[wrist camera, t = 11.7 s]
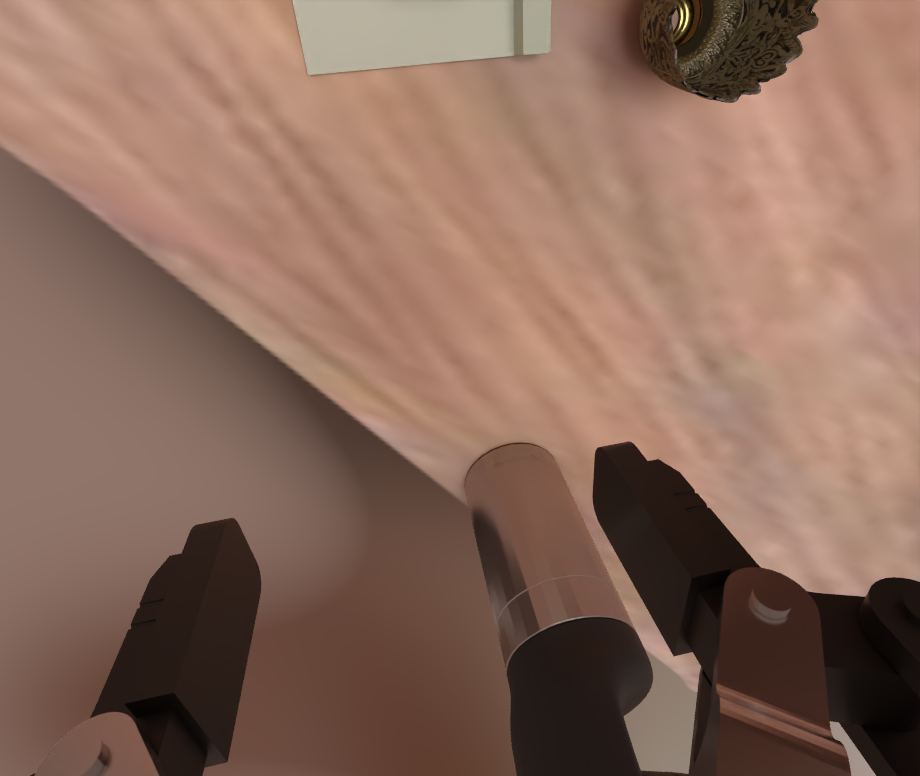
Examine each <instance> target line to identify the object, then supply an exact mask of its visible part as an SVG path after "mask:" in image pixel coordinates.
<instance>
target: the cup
mask: <svg viewBox="0 0 920 776" xmlns="http://www.w3.org/2000/svg"><path fill="white" fill-rule="evenodd" d="M817 1H819V0H644V2H643V5H642V9H641V13H640V20H639V40H640V46H641V50H642V53H643V56H644V58H645V60H646V62H647V64H648V66H649V67H650V69H651V70H652V71H653V72H654V73H655V74H656V75H657V76H658V77H659V78H660V79H662V80H663V81H665V82H667V83H668V84H670V85H672V86H674V87H677V88H679V89H682V90H684V91H687V92H690V93H693V94H696V95H698V96H700V97H703V98H706V99H709V100H717V101H721V102H726V103H733V102H736V101H737V100H738V99H739V97H740V96H741V95H743V94H747V95H752V94H758V93H760V92H761V86H760V84H759V82H768V81H769V80H770V79H773V78H776V77H778V76H781V75H783V74H784V73H785V72H786V71H787V68H786V63H790V62H791V61H793V60H794V59H796V58H797V57H799V56H800V55H801V54H802V51H803V48H802V45H801V42H800V40H799V39H798V38H797V36H798V35H801V33H803V32H805V31H809V30H811V29H814V28H815V27H817V25H818V18H817V16H816V14H815V12H814V13H813V11H812V10H813V8H814V6H815V4H816V3H817ZM676 8H678V11H679V23H678V26H677V28H676V30H675V31H674V32H673V26H672V15H673V14H674V12H675V10H676ZM811 12H812V13H813V14H812V13H811Z"/></svg>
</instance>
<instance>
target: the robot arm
mask: <svg viewBox="0 0 920 776" xmlns="http://www.w3.org/2000/svg"><path fill="white" fill-rule="evenodd" d="M465 492H466V497H467V501H468V506H469V510H470V514H471V519H472V524H473V529H474V533H475V537H476V542H477V546H478V550H479V555H480V559H481V563H482V568H483V572H484V577H485V581H486V585H487V590H488V594H489V598H490V603H491V607H492V611H493V616H494V620H495V625H496V629H497V633H498V637H499V642H500V646H501V650H502V655H503V659H504V663H505V668H506V672H507V677H508V682H509V687H510V693H511V717H510V723H511V742H512V750H513V756H514V761H515V767H516V773H517V776H851V770H850V764H849V759H848V755H847V752H846V749H845V747H844V745H843V744H842V743H841V742H840V741H838V740H835V739H834V738H833V736H832V733H831V729H830V721H833V722H839V723H840V724H841V726H842V727H843V729H844V730H845V732H846V733H847V734H848V736H849V737H850V739H851V740H852V742H853V743H854V744H855V746H856V747H857V749H858V750H859V751H860V753H861V754H862V756H863V757H864V759H865V760H866V762H867V763H868V764H869V766H870V767H871V769H872V770H873V771H874V773H875V774H876V776H920V582H918V581H914V580H911V579H905V578H895V577H893V578H885V579H881V580H879V581H877V582H875V583H874V584H873V585H872V586H871V588H870V590H869V592H868V594H867V595H866V597H860V596H847V595H835V594H822V593H814V592H808V591H806V590H805V589H804V588H802V587H801V586H800V585H799V584H798V583H796V582H795V581H794V580H792V579H790V578H789V577H787V576H785V575H783V574H781V573H778V572H776V571H773V570H769V569H765V568H761V567H760V566H759V565H758V564H757V563H756V562H755V561H754V560H753V558H752V557H751V556H750V555H749V554H748V553H747V551H746V550H745V549H744V548H743V547H742V545H741V544H740V543H739V542H738V541H737V540H736V538H735V537H734V536H733V535H732V534H731V532H730V531H729V530H728V529H727V528H726V527H725V525H724V524H723V523H722V522H721V521H720V519H719V518H718V517H717V516H716V515H715V514H714V512H713V511H712V510H711V509H710V508H707V505H706V503H705V502H704V501H703V499H702V498H701V497H700V496H699V495H698V494H697V493H695V492H694V489H693V488H692V486H691V485H690V484H689V483H688V482H687V481H686V479H685V478H684V477H683V476H682V475H681V473H680V472H678V471H677V470H675V469H673V468H672V467H670V466H668V465H667V464H665V463H664V462H662V461H660V460H659V459H657V460H652V461H647V460H646V458H645V457H644V456H643V455H642V453H641V452H640V451H639V450H638V448H637V447H636V446H635V445H634V444H633V443H632V442H624V443H619V444H614V445H609V446H603V447H599V448H597V449H596V452H595V463H594V481H593V505H594V510H595V513H596V516H597V519H598V521H599V523H600V525H601V527H602V529H603V531H604V532H605V534H606V536H607V538H608V540H609V541H610V543H611V545H612V547H613V549H614V550H615V552H616V554H617V556H618V558H619V559H620V561H621V563H622V565H623V566H624V568H625V570H626V572H627V574H628V575H629V577H630V579H631V581H632V583H633V584H634V586H635V588H636V590H637V591H638V593H639V595H640V597H641V599H642V600H643V602H644V604H645V606H646V608H647V609H648V611H649V613H650V615H651V616H652V618H653V620H654V622H655V624H656V625H657V627H658V629H659V631H660V633H661V634H662V636H663V638H664V640H665V641H666V643H667V645H668V647H669V649H670V650H671V652H672V654H673V656H677V655H681V654H685V653H690V652H693V653H694V655H695V657H696V658H697V660H698V662H699V663H700V665H701V670H700V674H699V683H698V693H697V702H696V711H695V721H694V730H693V739H692V749H691V758H690V767H689V774H684V773H673V772H654V771H641V770H640V768H639V764H638V762H637V759H636V756H635V753H634V750H633V746H632V743H631V740H630V737H629V734H628V731H627V728H626V724H625V721H624V717H623V716H624V715H626V714H627V713H629V712H630V711H631V710H633V709H634V708H635V707H636V706H638V704H640V703H641V702H642V700H643V699H644V698H645V697H646V696H647V694H648V692H649V691H650V689H651V685H652V682H653V672H652V667H651V664H650V660H649V658H648V656H647V654H646V651H645V649H644V647H643V645H642V643H641V641H640V639H639V636H638V634H637V632H636V631H635V628H634V626H633V624H632V622H631V620H630V618H629V615H628V613H627V611H626V609H625V607H624V605H623V603H622V601H621V598H620V596H619V594H618V592H617V591H616V588H615V586H614V584H613V582H612V580H611V578H610V576H609V573H608V571H607V569H606V567H605V565H604V563H603V561H602V559H601V556H600V554H599V552H598V550H597V548H596V546H595V544H594V542H593V539H592V537H591V535H590V533H589V531H588V529H587V527H586V525H585V522H584V520H583V518H582V516H581V514H580V512H579V510H578V508H577V505H576V503H575V501H574V499H573V497H572V495H571V493H570V490H569V488H568V486H567V484H566V482H565V480H564V478H563V475H562V473H561V471H560V469H559V467H558V465H557V463H556V461H555V459H554V458H553V456H552V455H551V454H550V453H549V452H547V451H546V450H544V449H542V448H540V447H537V446H534V445H529V444H512V445H507V446H503V447H500V448H497V449H495V450H493V451H491V452H489V453H487V454H486V455H484V456H483V457H481V458H480V459H479V460H478V461H477V462H476V463H475V464H474V465H473V467H472V468H471V469H470V471H469V473H468V475H467V477H466V482H465ZM260 593H261V576H260V570H259V567H258V564H257V562H256V559H255V558H254V556H253V553H252V551H251V549H250V547H249V545H248V543H247V541H246V538H245V536H244V535H243V533H242V530H241V528H240V526H239V524H238V522H237V521H236V520H235V519H234V518H229V519H224V520H219V521H214V522H209V523H204V524H199V525H195V526H194V527H193V528H192V529H191V531H190V533H189V536H188V538H187V541H186V544H185V546H184V549H183V551H182V554H177V555H172V556H169V557H168V559H167V560H166V561H165V562H164V563H163V565H162V566H161V567H160V568H159V569H158V570H157V572H156V573H155V574H154V575H153V576H152V578H151V579H150V581H149V583H148V585H147V588H146V590H145V592H144V595H143V597H142V600H141V602H140V608H139V609H137V611H136V614H135V616H134V618H133V620H132V623H131V629H130V630H128V632H127V634H126V637H125V639H124V641H123V644H122V646H121V648H120V651H119V653H118V655H117V658H116V660H115V662H114V665H113V667H112V669H111V672H110V674H109V676H108V679H107V681H106V683H105V686H104V688H103V690H102V693H101V695H100V697H99V700H98V702H97V704H96V707H95V709H94V711H93V713H92V715H91V717H90V719H88V720H87V721H85V722H83V723H81V724H80V725H78V726H77V727H76V728H74V729H73V730H71V731H70V732H69V733H68V734H66V735H65V736H64V737H63V738H62V739H61V740H60V741H59V742H58V743H57V744H56V745H55V746H54V747H53V748H52V749H51V751H50V752H49V753H48V754H47V756H46V757H45V758H44V760H43V762H42V763H41V764H40V766H39V768H38V770H37V771H36V773H35V774H33V775H31V776H202V775H203V771H204V768H205V767H208V766H213V765H217V764H221V763H226V762H227V761H228V757H229V752H230V746H231V742H232V736H233V731H234V726H235V721H236V715H237V711H238V705H239V701H240V696H241V690H242V685H243V680H244V675H245V670H246V665H247V660H248V655H249V650H250V644H251V639H252V634H253V629H254V624H255V619H256V614H257V609H258V604H259V599H260Z"/></svg>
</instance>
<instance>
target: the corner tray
mask: <svg viewBox="0 0 920 776" xmlns="http://www.w3.org/2000/svg"><path fill="white" fill-rule="evenodd" d="M292 1H293V6H294V11H295V15H296V20H297V25H298V30H299V34H300V39H301V44H302V49H303V53H304V58H305V63H306V68H307V72H308V75H316V74H327V73H337V72H348V71H358V70H369V69H379V68H390V67H400V66H411V65H422V64H432V63H443V62H453V61H464V60H474V59H485V58H495V57H506V56H517V55H530V54H540V53H550V36H551V0H292Z"/></svg>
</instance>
